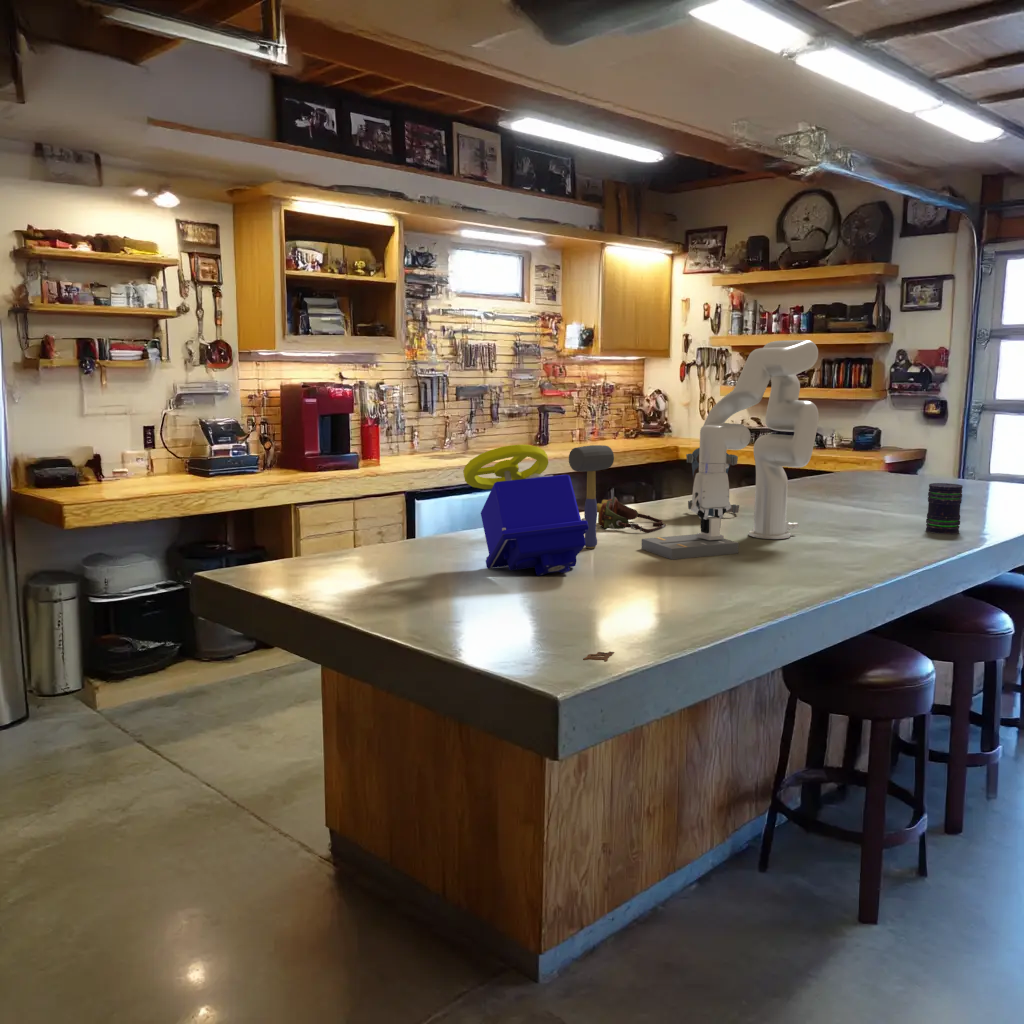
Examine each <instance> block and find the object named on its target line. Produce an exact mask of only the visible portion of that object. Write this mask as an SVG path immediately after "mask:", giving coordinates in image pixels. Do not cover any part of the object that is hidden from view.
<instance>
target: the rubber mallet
mask: <svg viewBox="0 0 1024 1024" xmlns="http://www.w3.org/2000/svg"><path fill="white" fill-rule="evenodd" d="M614 461H615V454H614V451H613V449H612V448H611V447H610V446H608V445H605V444H604V445H603V444H602V445H600V444H599V445H598V444H596V445H593V444H592V445H585V446H584V445H583V446H578V447H574V448H572V449H571V450H570V451H569V454H568V463H569V467H570V468H571V469H572V470H573V471H575V472H584V473H585V472H586V498H585V503H584V514H583V515H584V517H583V518H585V520H586V521H587V523H588V526H589V529H588V530H587V531H586V533H585V534H584V538H585V543H586V544H585V546H584V547H585V548H586V549H590V550H591V549H595V548H596V546H597V545H598V539H597V522H598V512H597V504H598V503H597V498H596V495H597V493H596V492H597V491H596V488H597V487H596V484H597V483H596V482H597V481H596V478H597V477H596V475H597V474H596V471H598V472H599V471H601V470H602V471H603V470H608V469H609V468H611V467H612V466H613V464H614Z"/></svg>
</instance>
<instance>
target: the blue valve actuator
mask: <svg viewBox="0 0 1024 1024" xmlns="http://www.w3.org/2000/svg"><path fill="white" fill-rule="evenodd" d="M509 458H510V459H509ZM526 458H531V459H533V460H535V462H534V463H533V464H532V465H531V466H530V467H529V468H526V469H524V470H522V471H519V470H520V469H519V468H520V467H519V464H520V463H521V462H522V461H524V460H525V459H526ZM496 461H498V462H497V463H495V464H494V465H492V466H486V465H489V464H491V463H493V462H496ZM548 465H549V458H548V455H547V453H546V450H544V449H543V448H541V447H540V446H536V445H530V444H514V445H505V446H500V447H496V448H493V449H491V450H488V451H485V452H482V453H480V454H479V455H476V456H475V457H473V458H471V459H470V460H469V462H468V463H467V464H466V465H465V466H464V468H463V472H462V473H463V478H464V482H465V483H466V484H467V485H468V486H470V487H472V488H477V489H482V490H490V492H489V494H488V496H487V498H486V501H485V503H484V505H483V507H482V509H481V511H480V516H481V523H482V527H483V531H484V532H483V533H484V537H485V541H486V542H485V543H486V546H487V550H488V556H486V559H485V565H486V568H487V569H495V568H504V567H508V570H509V571H517V570H524V569H525V570H526V569H532V568H534V571H535V575H536V577H541V576H544V575H547V574H553V573H557V572H558V573H562V574H563V573H568V572H569V571H570V572H571V569H570V568H572V567H576V566H577V565H576V564H577V556H578V555H580V554H579V553H580V552H581V551H582V550H583V549H584V548H585V547H586V546H585V544H586V543H585V533H586V531H587V530H588V529H589V526H588V523H587V521H586V520H585V517H583V518H582V517H581V514H580V511H579V506H578V503H577V498H576V495H575V490H574V487H573V483H572V479H571V476H570V474H561V475H560V474H559V475H554V474H547V475H544V474H543V473H544V472H545V470H546V469H547V467H548ZM484 466H486V467H484ZM489 474H494V475H495V476H496V477H495V478H494V477H493V478H492V477H482V476H483V475H489Z"/></svg>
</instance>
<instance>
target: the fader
mask: <svg viewBox="0 0 1024 1024" xmlns="http://www.w3.org/2000/svg"><path fill="white" fill-rule="evenodd" d="M708 519H709V533H704V532H701V531H700V533H699V532H697V533H696V534H697V537H699V538H703V539H706V540H719V539H725V538H724V534H721V526H720V518H717V517H713V516H708Z"/></svg>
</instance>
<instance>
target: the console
mask: <svg viewBox="0 0 1024 1024" xmlns="http://www.w3.org/2000/svg"><path fill="white" fill-rule="evenodd" d="M641 550H643V551H646V552H649V553H652V554H655V555H657V556H660V557H664V558H667V559H669V560H681V559H690V558H702V557H703V558H704V557H709V556H710V557H712V556H713V557H714V556H720V555H721V556H723V555H733V554H739V542H736V541H735V540H734V541H733V540H731V539H726V538H724V539H719V540H706V539H703V538H699V537H697V533H695V534H694V533H693V534H683V535H681V534H680V535H670V536H660V537H659V536H657V537H648V538H641Z"/></svg>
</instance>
